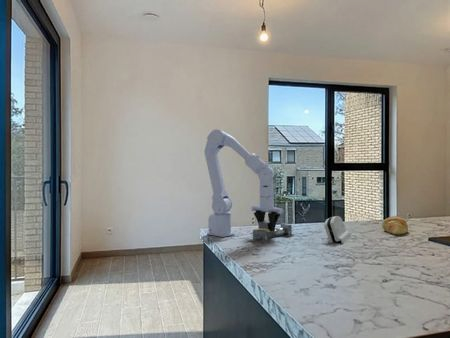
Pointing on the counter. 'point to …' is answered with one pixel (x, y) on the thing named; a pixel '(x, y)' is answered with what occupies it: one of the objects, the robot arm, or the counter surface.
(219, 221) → the robot arm
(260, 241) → the shaft
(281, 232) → the shaft
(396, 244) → the counter surface
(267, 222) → the block
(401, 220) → the bread loaf
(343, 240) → the hinge
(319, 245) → the counter surface
